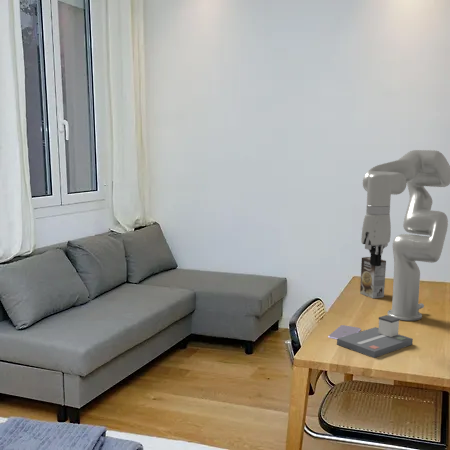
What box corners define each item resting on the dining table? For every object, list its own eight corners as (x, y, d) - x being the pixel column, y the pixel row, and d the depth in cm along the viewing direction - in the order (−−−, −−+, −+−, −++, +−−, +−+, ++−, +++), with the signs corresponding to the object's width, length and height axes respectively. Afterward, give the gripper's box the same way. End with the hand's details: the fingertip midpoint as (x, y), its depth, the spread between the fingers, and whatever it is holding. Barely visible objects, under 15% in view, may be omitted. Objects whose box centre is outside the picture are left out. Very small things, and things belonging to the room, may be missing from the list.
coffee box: (359, 293, 259) (360, 257, 257) (371, 292, 262) (372, 256, 260) (372, 298, 251) (374, 261, 249) (384, 297, 254) (386, 260, 252)
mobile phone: (361, 327, 211) (349, 339, 198) (361, 330, 211) (348, 342, 198) (341, 324, 214) (327, 335, 201) (341, 326, 214) (327, 338, 201)
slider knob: (385, 330, 202) (386, 315, 201) (398, 334, 198) (399, 318, 197) (377, 333, 200) (378, 317, 199) (390, 337, 196) (391, 321, 195)
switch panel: (375, 332, 207) (375, 326, 207) (412, 344, 195) (412, 338, 195) (336, 344, 195) (337, 338, 194) (374, 357, 183) (374, 351, 183)
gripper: (382, 208, 203) (380, 260, 206) (354, 211, 194) (352, 266, 197) (401, 210, 197) (398, 264, 200) (373, 213, 188) (370, 270, 191)
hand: (375, 265), depth 198 cm, fingers closed
